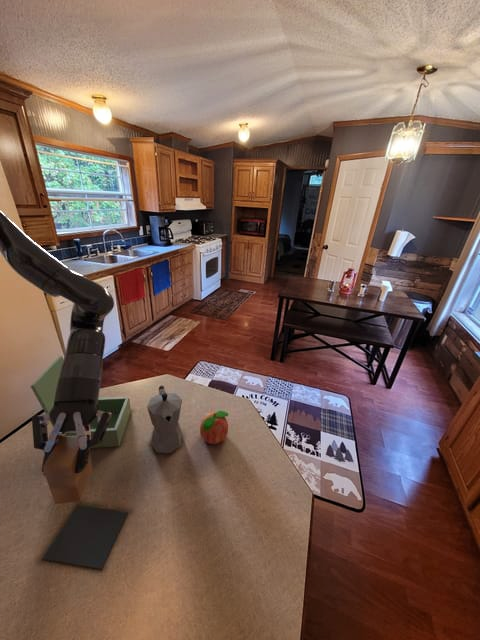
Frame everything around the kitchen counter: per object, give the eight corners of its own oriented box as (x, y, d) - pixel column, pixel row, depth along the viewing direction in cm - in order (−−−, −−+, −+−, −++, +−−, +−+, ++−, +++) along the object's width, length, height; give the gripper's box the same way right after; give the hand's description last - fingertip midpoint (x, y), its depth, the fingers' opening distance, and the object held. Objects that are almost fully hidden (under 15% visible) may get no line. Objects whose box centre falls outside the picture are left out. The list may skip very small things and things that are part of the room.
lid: (61, 355, 74) (59, 356, 74) (33, 385, 61) (30, 386, 61) (81, 397, 80) (78, 397, 80) (59, 432, 68) (56, 432, 68)
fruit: (193, 435, 79) (193, 410, 75) (218, 422, 84) (220, 398, 80) (208, 455, 73) (209, 429, 69) (234, 440, 78) (236, 415, 74)
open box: (131, 413, 85) (129, 396, 83) (119, 448, 73) (116, 430, 70) (83, 415, 83) (80, 398, 80) (63, 451, 70) (57, 433, 68)
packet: (93, 469, 54) (85, 435, 50) (80, 501, 48) (70, 465, 44) (70, 471, 53) (60, 436, 49) (54, 504, 47) (42, 467, 43)
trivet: (43, 561, 49) (41, 559, 49) (78, 506, 58) (77, 504, 58) (102, 572, 48) (101, 569, 48) (128, 514, 57) (128, 512, 57)
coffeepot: (187, 456, 72) (187, 406, 65) (153, 466, 68) (148, 415, 61) (177, 417, 85) (176, 373, 78) (147, 425, 81) (143, 378, 74)
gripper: (30, 376, 48) (5, 482, 41) (111, 374, 50) (98, 474, 44) (52, 382, 54) (32, 473, 48) (122, 379, 57) (112, 466, 51)
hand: (64, 472), depth 46 cm, fingers closed on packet, 4 cm apart
